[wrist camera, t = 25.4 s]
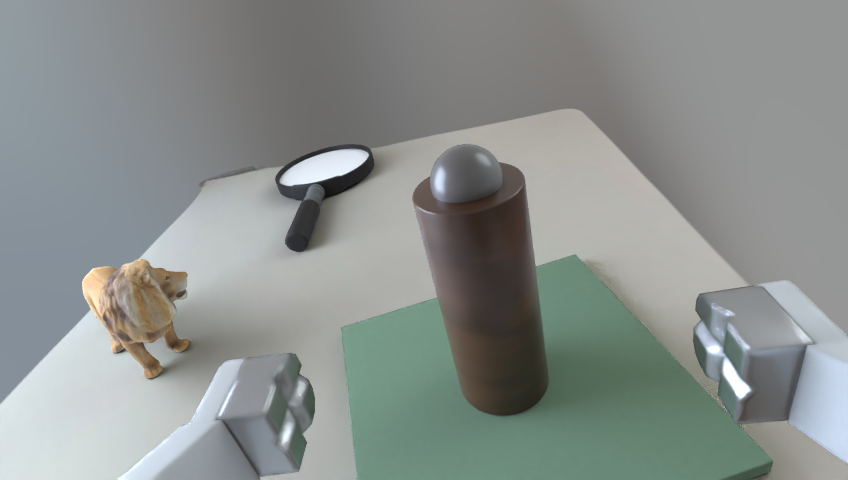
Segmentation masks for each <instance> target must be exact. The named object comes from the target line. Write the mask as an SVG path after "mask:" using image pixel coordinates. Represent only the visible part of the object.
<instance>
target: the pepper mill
mask: <svg viewBox="0 0 848 480" xmlns="http://www.w3.org/2000/svg"><path fill="white" fill-rule="evenodd" d="M413 204H414V208H415V212H416V216H417V219H418V223H419V227H420V231H421V235H422V239H423V243H424V247H425V251H426V255H427V258H428V262H429V266H430V270H431V274H432V278H433V282H434V286H435V290H436V293H437V297H438V301H439V305H440V309H441V313H442V317H443V321H444V325H445V329H446V332H447V336H448V340H449V344H450V348H451V352H452V356H453V360H454V364H455V368H456V371H457V375H458V379H459V383H460V387H461V391H462V393H463V396H464V397H465V399H466V400H467V401H468V402H469V403H470V404H471V405H472V406H473V407H474V408H476V409H478V410H479V411H482V412H484V413H487V414H491V415H499V416H506V415H514V414H518V413H521V412H523V411H526V410H528V409H530V408H531V407H533V406H534V405H536V404H537V403H538V402H539V401H540V400H541V398H542V397H543V396H544V394H545V392H546V390H547V388H548V383H549V375H548V366H547V358H546V350H545V341H544V333H543V325H542V317H541V308H540V300H539V292H538V283H537V275H536V267H535V259H534V250H533V242H532V234H531V226H530V217H529V209H528V201H527V192H526V184H525V177H524V175H523V173H522V172H521V171H520V170H519V169H518V168H516V167H514V166H512V165H509V164H505V163H500V162H498V161H497V159H496V158H495V157H494V156H493V155H492V154H491V153H490V152H489V151H487V150H486V149H484V148H482V147H480V146H477V145H471V144H462V145H457V146H454V147H452V148H450V149H448V150H446V151H445V152H444V153H443V154H442V155H441V156H440V157H439V158H438V159H437V161H436V162H435V164H434V166H433V168H432V171H431V176H430V177H428V178H427V179H425V180H424V181H423V182H421V183H420V184H419V185H418V186H417V188H416V189H415V191H414V193H413Z"/></svg>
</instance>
